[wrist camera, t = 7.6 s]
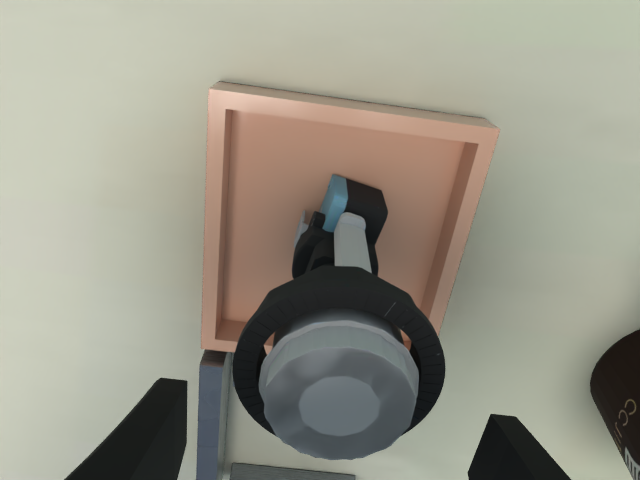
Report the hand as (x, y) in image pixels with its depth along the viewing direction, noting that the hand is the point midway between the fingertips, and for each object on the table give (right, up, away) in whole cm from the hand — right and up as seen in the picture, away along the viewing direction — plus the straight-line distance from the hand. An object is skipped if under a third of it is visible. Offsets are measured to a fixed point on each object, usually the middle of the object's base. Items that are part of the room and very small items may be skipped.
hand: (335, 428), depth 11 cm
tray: (0, +5, +9) cm, 10 cm away
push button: (0, +5, +9) cm, 10 cm away
